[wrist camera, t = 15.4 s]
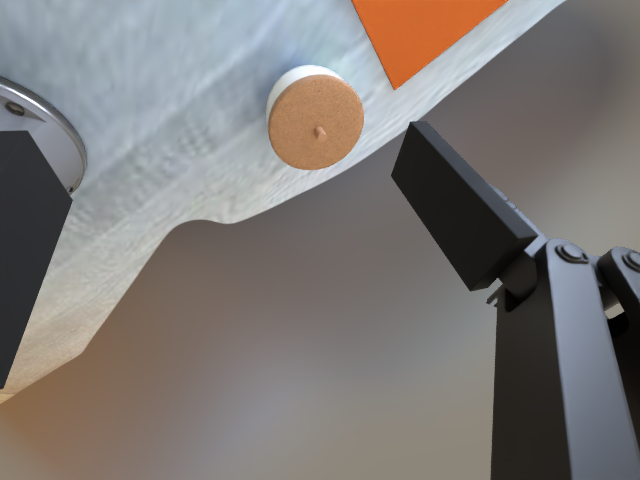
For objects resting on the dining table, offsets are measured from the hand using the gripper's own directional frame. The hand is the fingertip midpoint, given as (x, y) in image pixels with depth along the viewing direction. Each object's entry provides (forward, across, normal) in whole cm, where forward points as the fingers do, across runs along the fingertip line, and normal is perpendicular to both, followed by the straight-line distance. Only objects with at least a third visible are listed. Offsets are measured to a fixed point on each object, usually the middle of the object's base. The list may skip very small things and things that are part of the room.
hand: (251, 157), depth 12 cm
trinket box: (+27, +9, -10) cm, 30 cm away
